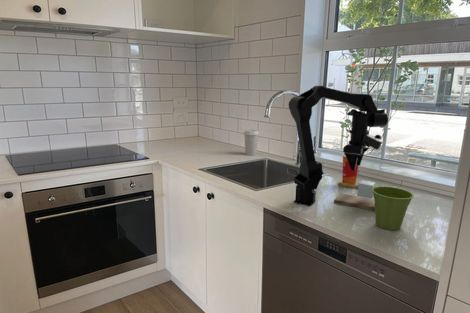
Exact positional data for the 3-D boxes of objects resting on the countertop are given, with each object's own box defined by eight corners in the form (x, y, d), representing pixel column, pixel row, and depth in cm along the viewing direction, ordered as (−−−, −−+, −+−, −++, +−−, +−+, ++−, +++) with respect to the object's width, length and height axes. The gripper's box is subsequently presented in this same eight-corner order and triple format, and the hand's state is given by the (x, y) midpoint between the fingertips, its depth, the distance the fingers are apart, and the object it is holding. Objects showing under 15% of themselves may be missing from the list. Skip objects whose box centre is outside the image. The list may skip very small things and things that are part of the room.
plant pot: (396, 237, 97) (401, 201, 94) (360, 223, 106) (364, 190, 104) (416, 227, 104) (421, 193, 101) (381, 215, 113) (384, 183, 111)
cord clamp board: (333, 202, 125) (335, 183, 123) (340, 196, 132) (341, 177, 130) (385, 212, 115) (388, 192, 114) (389, 205, 123) (391, 185, 121)
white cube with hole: (357, 195, 122) (358, 183, 121) (360, 192, 126) (361, 180, 124) (371, 198, 119) (373, 185, 118) (374, 194, 123) (375, 182, 122)
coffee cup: (258, 156, 203) (259, 131, 200) (243, 155, 203) (243, 131, 200) (258, 152, 212) (258, 129, 209) (243, 152, 212) (243, 129, 209)
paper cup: (343, 179, 154) (346, 150, 151) (360, 183, 150) (363, 152, 146) (337, 183, 148) (339, 153, 145) (354, 187, 144) (357, 155, 141)
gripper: (377, 132, 113) (373, 176, 116) (386, 126, 128) (382, 165, 132) (344, 129, 119) (341, 171, 122) (356, 124, 134) (353, 162, 138)
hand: (355, 167), depth 128 cm, fingers open, 9 cm apart
